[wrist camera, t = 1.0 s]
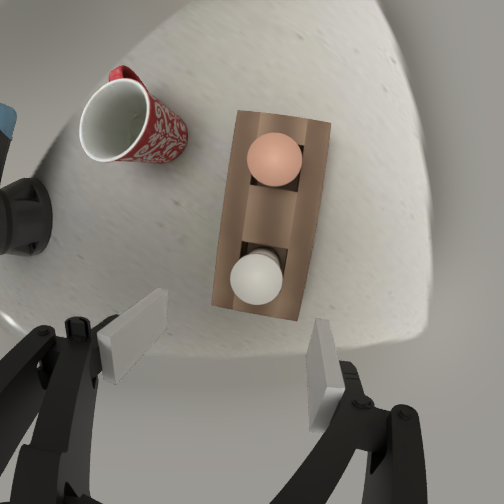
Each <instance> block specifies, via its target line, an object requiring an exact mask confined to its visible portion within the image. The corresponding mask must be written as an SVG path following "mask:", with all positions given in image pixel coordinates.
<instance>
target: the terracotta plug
mask: <svg viewBox="0 0 504 504" xmlns="http://www.w3.org/2000/svg"><path fill="white" fill-rule="evenodd" d="M247 164H248V168H249V170H250V172H251V174H252V175H253V176H254V178H256V179H257V180H258V181H259V182H261V183H263V184H265V185H268V186H282V185H285V184H288V183H289V182H291V181H292V180H293V179H294V178H295V177H296V176H297V175H298V173H299V171H300V169H301V166H302V153H301V150H300V148H299V146H298V145H297V143H296V142H295V141H294V140H293V139H292V138H290V137H289V136H287V135H285V134H281V133H267V134H264V135H262V136H260V137H259V138H257V139H256V140H255V141H254V142H253V143H252V145H251V146H250V148H249V151H248V155H247Z"/></svg>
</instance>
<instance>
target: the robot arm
mask: <svg viewBox="0 0 504 504" xmlns="http://www.w3.org/2000/svg"><path fill="white" fill-rule="evenodd" d="M16 119H17V114H16V111H15V110H14V109H13V108H11V107H9V106H7V105H5V104H2V103H0V183H1V178H2V173H3V169H4V165H5V161H6V157H7V153H8V149H9V146H10V142H11V141H12V134H13V130H14V127H15V123H16ZM51 227H52V210H51V204H50V199H49V196H48V193H47V191H46V189H45V187H44V186H43V184H42V183H41V182H40V181H39V180H37V179H35V178H22V179H19V180H18V181H16V182H13V183H11V184H9V185H7V186H5V187H3V188H1V189H0V255H2V254H12V255H19V256H26V257H27V256H32V255H36V254H38V253H40V252H41V251H42V250H43V249H44V248H45V247H46V245H47V243H48V240H49V237H50V233H51ZM167 311H168V290H165V289H160V288H157V289H155V290H154V291H153V292H151V293H150V294H148V295H147V296H146V297H144V298H143V299H142V300H140V301H139V302H137V303H136V304H135V305H133V306H132V307H131V308H129V309H128V310H127V311H125V312H124V313H122V314H121V315H117V314H116V315H113V316H110V317H108V318H106V319H105V320H103V321H102V322H101V323H99V325H96V326H95V327H94V328H92V329H91V327H90V321H89V320H88V319H87V318H84V317H71V318H69V319H67V320H66V321H65V328H66V334H67V338H63V337H58V336H56V334H55V329H54V328H53V327H51V326H47V325H41V326H38V327H36V328H34V329H33V330H32V331H31V332H30V333H29V334H28V335H26V336H25V337H24V338H23V339H22V340H21V341H20V342H19V343H18V344H17V345H16V346H15V347H14V348H13V349H11V351H9V352H8V353H7V354H6V355H5V356H4V357H3V358H2V359H1V360H0V476H1V474H2V473H3V471H4V469H5V468H6V466H7V464H8V462H9V460H10V459H11V457H12V455H13V453H14V452H15V450H16V448H17V446H18V445H19V443H20V441H21V440H22V438H23V436H24V435H25V433H26V432H27V430H28V428H29V427H30V425H31V424H32V422H33V420H34V419H35V417H36V416H37V414H38V413H39V414H38V418H37V421H36V425H35V429H34V432H33V436H32V440H31V443H30V444H29V445H26V444H23V445H22V446H21V449H20V451H19V455H18V460H17V464H16V468H15V473H14V479H13V484H12V490H11V497H10V502H2V503H0V504H102V503H100V502H98V501H96V500H94V499H92V498H91V496H90V491H89V473H90V452H91V438H92V427H93V418H94V410H95V402H96V394H97V388H98V374H99V373H100V372H101V371H102V374H103V379H104V380H105V381H108V382H110V383H113V384H115V385H116V384H118V382H119V381H120V380H121V379H122V378H123V377H124V376H125V375H126V373H127V372H128V371H129V370H130V369H131V368H132V367H133V366H134V364H135V363H136V362H137V361H138V360H139V359H140V358H141V357H142V356H143V355H144V353H145V352H146V351H147V350H148V349H149V348H150V347H151V346H152V345H153V344H154V342H155V341H156V340H157V339H158V338H159V337H160V336H161V335H162V334H163V333H164V331H165V330H166V329H167ZM38 362H39V364H40V366H39V367H38V368H37V364H38ZM306 368H307V387H308V409H309V410H308V411H309V432H317V433H324V434H323V435H322V437H321V438H320V440H319V441H318V443H317V444H316V445H315V447H314V448H313V450H312V451H311V452H310V454H309V455H308V457H307V458H306V459H305V461H304V462H303V463H302V465H301V466H300V467H299V469H298V470H297V471H296V473H295V474H294V475H293V476H292V478H291V479H290V480H289V481H288V483H287V484H286V485H285V486H284V487H283V489H282V490H281V491H280V492H279V493H278V495H277V496H276V497H275V498H274V499H273V500H272V501H271V502H270V504H325V503H326V502H327V500H328V498H329V497H330V495H331V494H332V492H333V490H334V489H335V487H336V485H337V483H338V482H339V480H340V478H341V476H342V475H343V473H344V471H345V469H346V467H347V465H348V463H349V461H350V459H351V457H352V456H353V454H354V452H355V450H356V449H361V450H364V451H368V457H367V467H366V477H365V484H364V492H363V498H362V504H428V501H427V482H426V469H425V459H424V450H423V442H422V435H421V428H420V422H419V416H418V413H417V411H416V410H415V409H414V408H412V407H410V406H408V405H404V404H399V405H396V406H394V407H393V408H392V410H391V411H387V410H383V409H379V408H376V407H374V402H373V401H372V399H371V398H369V397H368V396H366V395H365V394H364V391H363V388H362V385H361V381H360V380H359V379H360V378H359V375H358V372H357V369H356V367H355V366H354V365H353V364H352V363H351V362H348V361H339V360H338V356H337V352H336V348H335V344H334V340H333V336H332V332H331V329H330V325H329V321H328V320H324V319H317V318H316V320H315V324H314V328H313V332H312V335H311V339H310V343H309V347H308V351H307V354H306Z"/></svg>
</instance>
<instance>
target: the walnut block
mask: <svg viewBox="0 0 504 504" xmlns="http://www.w3.org/2000/svg"><path fill="white" fill-rule="evenodd" d="M330 130H331V123H328V122H323V121H317V120H312V119H306V118H299V117H293V116H286V115H278V114H270V113H261V112H252V111H240V110H238V111H237V117H236V123H235V129H234V136H233V142H232V148H231V155H230V162H229V168H228V175H227V182H226V189H225V196H224V204H223V211H222V218H221V226H220V234H219V242H218V250H217V259H216V267H215V276H214V285H213V294H212V304H211V305H212V306H217V307H222V308H227V309H232V310H237V311H242V312H248V313H253V314H258V315H264V316H269V317H275V318H281V319H287V320H293V321H297V320H298V316H299V311H300V307H301V302H302V298H303V293H304V288H305V283H306V279H307V274H308V269H309V264H310V258H311V253H312V248H313V242H314V237H315V231H316V226H317V220H318V214H319V208H320V202H321V195H322V189H323V182H324V176H325V169H326V162H327V154H328V147H329V139H330ZM267 133H281V134H285V135H287V136H289V137H290V138H292V139H293V140H294V141H295V142H296V143H297V145H298V146H299V148H300V150H301V153H302V166H301V169H300V171H299V173H298V175H297V176H296V177H295V178H294V179H293V180H292V181H291V182H289V183H288V184H285V185H282V186H268V185H265V184H263V183H261V182H259V181H258V180H257V179H256V178H254V176H253V175H252V174H251V172H250V170H249V168H248V164H247V155H248V151H249V148H250V146H251V145H252V143H253V142H254V141H255V140H256V139H257V138H259V137H260V136H262V135H264V134H267ZM260 246H266V247H269V248H271V249H273V250H274V251H275V252H276V253H277V254H278V256H279V258H280V262H281V265H280V269H281V271H282V276H283V280H282V287H281V290H280V292H279V294H278V295H277V296H276V297H275V298H274V299H273V300H272V301H270V302H268V303H266V304H261V305H253V304H249V303H246V302H244V301H242V300H241V299H240V298H239V297H237V295H236V294H235V293H234V291H233V289H232V287H231V282H230V275H231V271H232V269H233V267H234V265H235V264H236V263H237V262H238V260H239V259H241V258H242V257H244V256H245V255H248V254H249V252H250V251H251V250H252V249H254V248H256V247H260Z"/></svg>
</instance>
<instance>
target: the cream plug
mask: <svg viewBox="0 0 504 504" xmlns="http://www.w3.org/2000/svg"><path fill="white" fill-rule="evenodd" d="M280 265H281V262H280V258H279V256H278V254H277V253H276V252H275V251H274V250H273V249H271V248H269V247H266V246H260V247H256V248H254V249H252V250H251V251H250V252H249V254H248V255H245V256H244V257H242V258H241V259H239V260H238V262H237V263H236V264H235V265H234V267H233V269H232V271H231V275H230V282H231V287H232V289H233V291H234V293H235V294H236V295H237V297H239V298H240V299H241V300H242V301H244V302H246V303H249V304H253V305H261V304H266V303H268V302H270V301H272V300H273V299H274V298H275V297H276V296H277V295H278V294H279V292H280V290H281V287H282V280H283V276H282V271H281V269H280Z"/></svg>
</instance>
